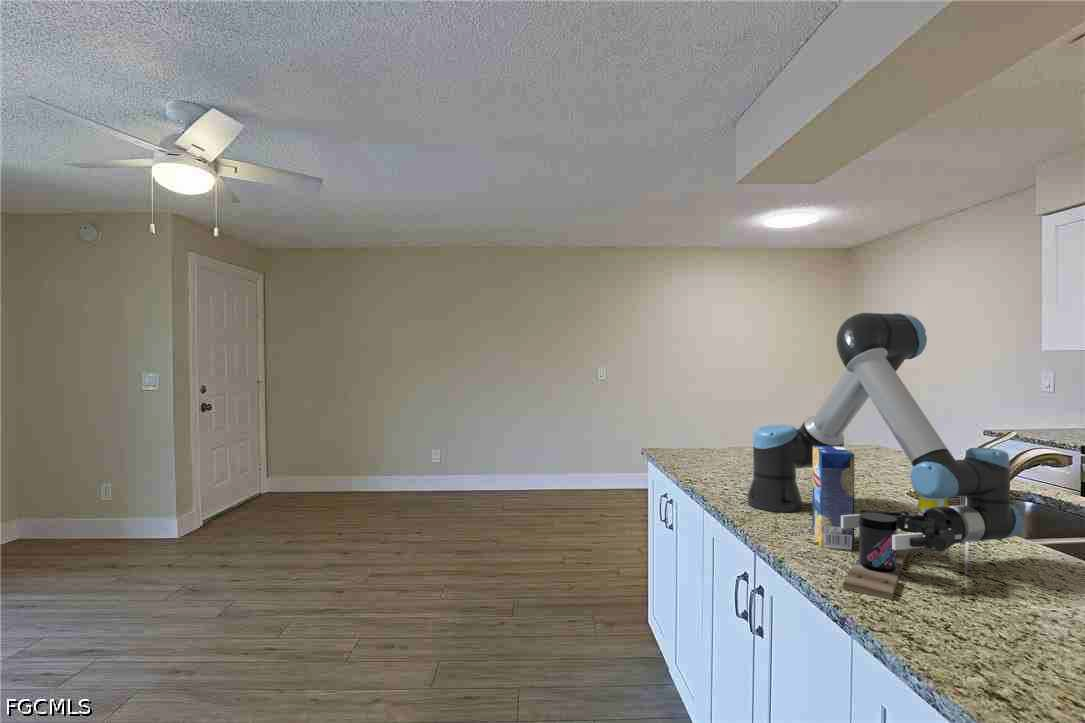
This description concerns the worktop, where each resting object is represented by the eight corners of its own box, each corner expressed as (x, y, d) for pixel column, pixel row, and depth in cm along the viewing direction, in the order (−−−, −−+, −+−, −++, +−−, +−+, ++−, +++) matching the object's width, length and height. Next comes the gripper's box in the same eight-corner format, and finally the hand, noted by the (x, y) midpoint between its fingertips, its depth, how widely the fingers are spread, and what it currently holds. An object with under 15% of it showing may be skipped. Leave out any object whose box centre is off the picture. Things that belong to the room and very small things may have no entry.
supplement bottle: (938, 514, 156) (938, 468, 156) (953, 521, 150) (953, 473, 150) (912, 513, 157) (913, 467, 157) (926, 520, 151) (926, 472, 150)
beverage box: (842, 535, 139) (842, 446, 138) (854, 550, 128) (854, 454, 128) (812, 533, 140) (812, 445, 140) (821, 547, 130) (821, 452, 130)
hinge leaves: (892, 599, 102) (892, 592, 102) (843, 588, 107) (843, 581, 107) (906, 555, 124) (906, 549, 124) (865, 548, 129) (865, 542, 129)
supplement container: (858, 569, 114) (858, 518, 114) (858, 559, 120) (859, 510, 120) (897, 576, 111) (898, 523, 111) (896, 565, 117) (896, 515, 117)
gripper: (1011, 563, 107) (918, 572, 103) (902, 524, 132) (823, 531, 127) (1011, 524, 107) (919, 532, 103) (902, 492, 132) (823, 498, 127)
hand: (866, 531), depth 115 cm, fingers open, 13 cm apart
